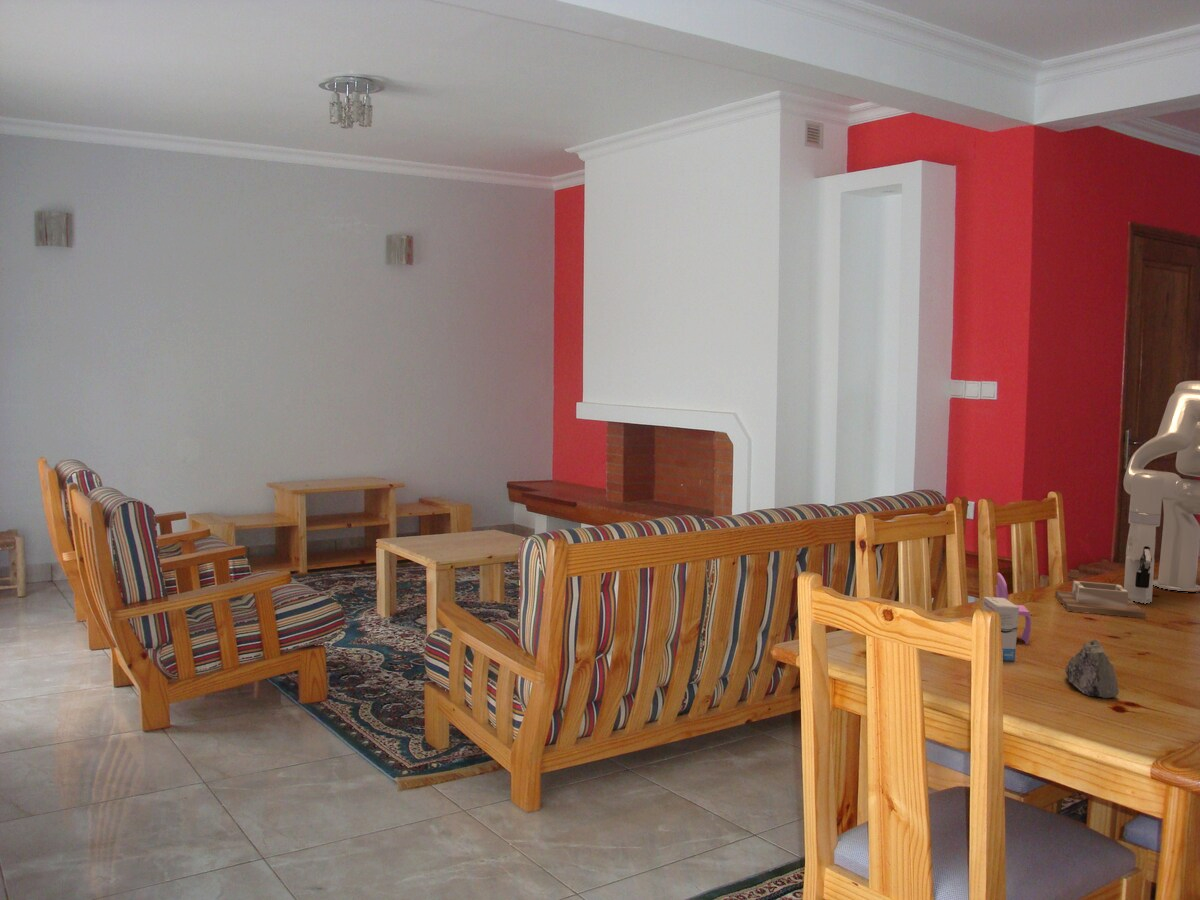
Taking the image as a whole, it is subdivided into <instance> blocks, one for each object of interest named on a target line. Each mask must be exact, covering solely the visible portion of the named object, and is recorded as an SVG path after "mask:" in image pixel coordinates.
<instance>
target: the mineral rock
mask: <svg viewBox="0 0 1200 900" xmlns="http://www.w3.org/2000/svg"><path fill="white" fill-rule="evenodd" d="M1081 647H1082V648H1081V649H1080V650H1079V652H1076V653H1075V655H1074V656H1073V657H1071V658H1070V659H1069V660H1068V663H1067V666H1066V667H1064V669H1065V670H1064V671H1065V675H1066V678H1067V679H1068V682H1070V683H1071V684H1072V685H1073V686H1074V687H1076V688H1077V689H1078V690H1079V691H1080V692H1081V693H1083V694H1084V695H1087V697H1095V698H1096V697H1099V698H1101V697H1102V699H1110V698H1113V697H1117V696H1118V695H1119V693H1120V689H1119V682H1118V677H1117V673H1116V671H1115V667H1114V665H1113V663H1112V662H1111V660H1110V658H1109V657H1108V656H1107V654H1106V652H1105V651H1104V648H1103V646H1102V644H1101V642H1100V641H1098V639H1092V640H1090V641H1088V642H1085V643H1084V644H1083V646H1081Z"/></svg>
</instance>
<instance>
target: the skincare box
mask: <svg viewBox="0 0 1200 900" xmlns="http://www.w3.org/2000/svg"><path fill="white" fill-rule="evenodd" d="M1140 561H1145V560H1142V559H1140ZM1141 567H1142V564H1141ZM1150 567H1151V568H1150V580H1149V588H1140V587H1136V586H1135V582H1136V572H1138V560H1137V561H1136V562H1134V561H1132V560H1131V559H1130V557H1129V556H1126V555H1125V564H1124V580H1123V581H1124V582H1123V588H1124V589H1125V590H1126V591H1128V598H1129V599H1131V600H1132V601H1135V602H1134V603H1138V602H1140V603H1139V604H1143V603H1144V604H1145V605H1147V604H1146V603H1148V604H1151V603H1152V602H1153V588H1154V586H1153V580H1154V576H1155V575H1154V573H1155V571H1154V570H1155V559H1154V560H1153V562H1152V563H1151V564H1150ZM1150 602H1151V603H1150ZM1144 604H1143V605H1144Z"/></svg>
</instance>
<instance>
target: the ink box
mask: <svg viewBox="0 0 1200 900" xmlns="http://www.w3.org/2000/svg"><path fill="white" fill-rule="evenodd" d="M1016 605H1017V604H1014V603H1013V602H1011V601H1010V600H1008V598H1007V599H1005V598H997V596H996V597H995V596H993V597H992V596H983V598H982V609H984V610H989V611H996V612H998V613H999V615H1000V617H1001V632H1002V649H1003V660H1002V661H1005V662H1006V661H1009V662H1010V661H1011V662H1015V661H1016V652H1017V651H1016V649H1017V638H1018V623H1019V615H1018V614H1019V607H1017V606H1016Z"/></svg>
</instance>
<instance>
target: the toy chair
mask: <svg viewBox="0 0 1200 900" xmlns="http://www.w3.org/2000/svg"><path fill="white" fill-rule="evenodd" d="M996 577H997V582H998V583H997V584H995V590H996V592H995V593H996V598H1005V599H1007V600H1008V598H1009V597H1010V596H1009V593H1008V587H1007V586H1008V585H1007V582H1006V580H1005V578H1004V576H1003V575H1002V574H1001V573H1000V572H997V573H996ZM1015 605H1016V606H1017V607H1019V614H1018V616H1024V617H1025V625H1024V629H1023V631H1022V634H1021V635H1020V638H1021V640H1024V641H1025V642H1024V641H1023V642H1024V643H1025V645H1029V641H1030V637H1031V631H1032V618H1031V616H1030V610H1028V609H1027V608H1026V606H1025V604H1023V605H1022V604H1015Z"/></svg>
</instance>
